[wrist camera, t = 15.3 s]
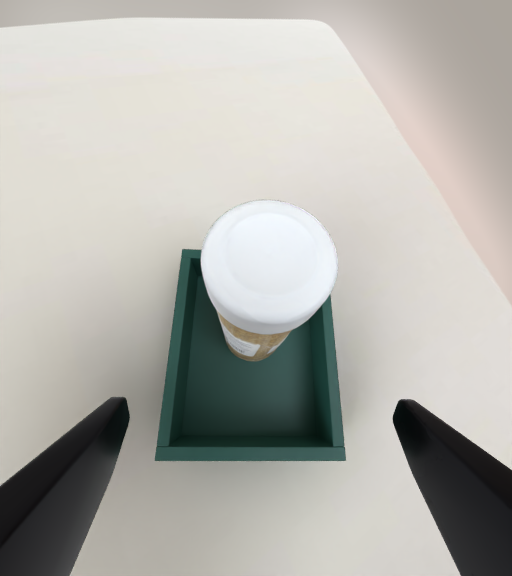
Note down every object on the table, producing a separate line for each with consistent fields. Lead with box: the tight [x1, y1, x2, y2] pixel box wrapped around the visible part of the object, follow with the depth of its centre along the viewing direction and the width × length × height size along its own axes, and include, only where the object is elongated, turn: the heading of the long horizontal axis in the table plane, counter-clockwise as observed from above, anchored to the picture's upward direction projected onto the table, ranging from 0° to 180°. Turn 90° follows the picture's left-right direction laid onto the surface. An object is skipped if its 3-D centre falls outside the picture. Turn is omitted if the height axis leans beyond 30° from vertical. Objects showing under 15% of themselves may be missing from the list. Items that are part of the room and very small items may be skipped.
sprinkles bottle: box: [201, 200, 338, 361], centre depth 14 cm, size 5×5×14 cm
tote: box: [155, 249, 346, 461], centre depth 19 cm, size 13×11×4 cm
